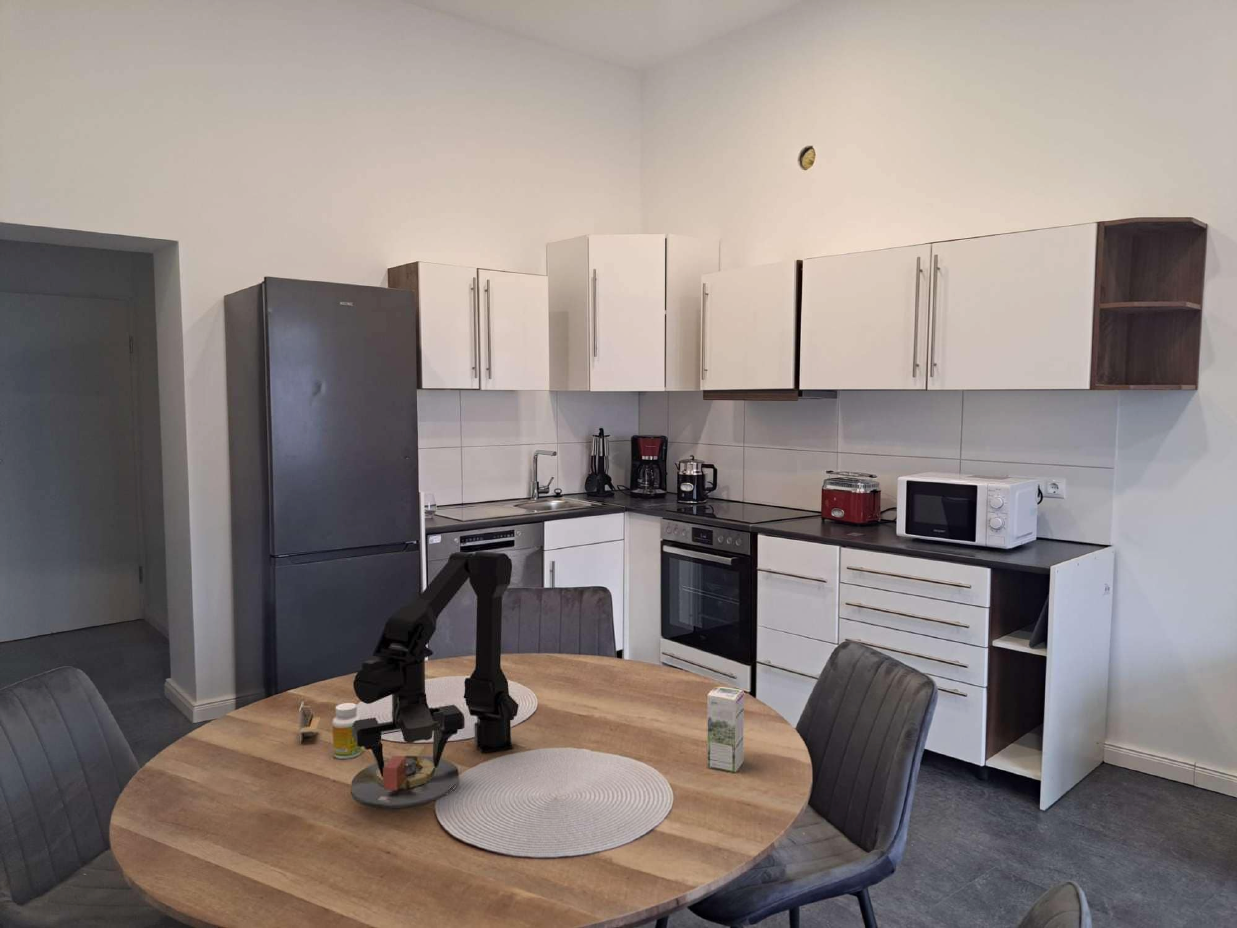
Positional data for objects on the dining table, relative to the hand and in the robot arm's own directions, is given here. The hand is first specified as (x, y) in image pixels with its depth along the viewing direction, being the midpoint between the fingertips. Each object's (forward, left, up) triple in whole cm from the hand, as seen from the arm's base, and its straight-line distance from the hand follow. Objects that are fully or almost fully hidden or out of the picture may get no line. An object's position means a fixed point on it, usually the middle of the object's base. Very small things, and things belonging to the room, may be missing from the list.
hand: (409, 771), depth 151 cm
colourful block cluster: (0, -5, -3) cm, 5 cm away
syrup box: (-58, +10, -4) cm, 59 cm away
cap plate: (0, -5, -4) cm, 6 cm away
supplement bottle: (+9, -23, -4) cm, 25 cm away
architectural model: (+16, -34, -5) cm, 38 cm away
